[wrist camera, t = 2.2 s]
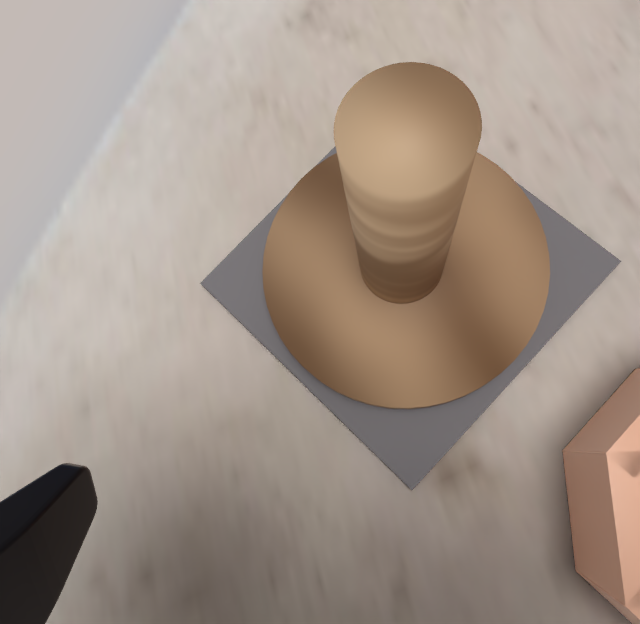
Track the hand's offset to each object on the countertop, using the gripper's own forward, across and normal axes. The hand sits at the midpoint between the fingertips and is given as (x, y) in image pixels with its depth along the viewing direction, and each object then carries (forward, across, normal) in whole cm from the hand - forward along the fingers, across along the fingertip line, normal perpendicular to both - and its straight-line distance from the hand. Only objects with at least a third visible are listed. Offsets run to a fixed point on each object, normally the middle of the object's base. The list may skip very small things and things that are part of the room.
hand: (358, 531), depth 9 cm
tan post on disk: (+15, 0, +3) cm, 15 cm away
